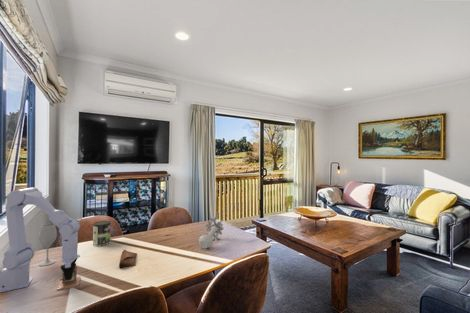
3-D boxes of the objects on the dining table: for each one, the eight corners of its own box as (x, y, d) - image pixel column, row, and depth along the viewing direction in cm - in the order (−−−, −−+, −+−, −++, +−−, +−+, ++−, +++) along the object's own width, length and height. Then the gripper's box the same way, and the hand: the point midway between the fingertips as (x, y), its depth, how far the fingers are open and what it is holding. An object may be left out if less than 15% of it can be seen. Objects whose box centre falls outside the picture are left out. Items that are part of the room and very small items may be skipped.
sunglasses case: (136, 266, 121) (129, 256, 120) (124, 274, 118) (117, 265, 117) (137, 253, 137) (131, 244, 136) (126, 260, 135) (120, 251, 134)
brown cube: (62, 284, 100) (62, 273, 100) (63, 279, 104) (63, 268, 104) (75, 281, 102) (76, 270, 102) (76, 276, 107) (76, 265, 107)
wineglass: (41, 261, 125) (42, 223, 125) (58, 258, 128) (58, 222, 128) (35, 267, 118) (36, 227, 118) (53, 264, 121) (54, 226, 121)
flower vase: (210, 260, 144) (224, 237, 167) (213, 236, 139) (226, 216, 162) (192, 254, 147) (208, 232, 170) (194, 230, 142) (210, 211, 165)
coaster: (56, 290, 98) (56, 289, 98) (59, 282, 104) (59, 280, 104) (78, 285, 102) (79, 284, 102) (80, 277, 109) (80, 276, 109)
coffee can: (113, 240, 157) (113, 220, 157) (104, 246, 147) (104, 225, 147) (98, 240, 157) (99, 220, 157) (89, 246, 147) (89, 224, 147)
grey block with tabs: (59, 281, 105) (60, 269, 105) (63, 270, 116) (63, 259, 116) (67, 279, 107) (67, 267, 107) (70, 268, 117) (70, 258, 117)
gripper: (79, 251, 99) (78, 281, 99) (81, 240, 112) (80, 268, 111) (59, 254, 96) (58, 286, 95) (63, 243, 108) (63, 271, 108)
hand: (69, 276), depth 103 cm, fingers closed on brown cube, 5 cm apart
